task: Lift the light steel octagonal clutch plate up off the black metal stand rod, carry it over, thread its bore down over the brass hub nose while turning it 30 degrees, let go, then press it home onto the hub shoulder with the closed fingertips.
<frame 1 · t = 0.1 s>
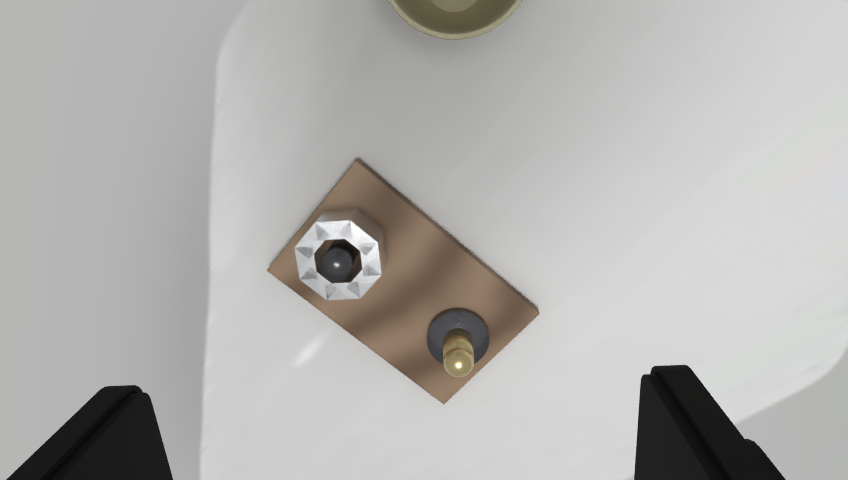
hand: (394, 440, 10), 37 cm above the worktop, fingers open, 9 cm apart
clutch plate: (346, 246, 47), point 1 cm above the worktop, touching base board
hub: (457, 328, 50), resting on base board
stand rod: (348, 242, 48), resting on base board
base board: (404, 286, 49), on the worktop
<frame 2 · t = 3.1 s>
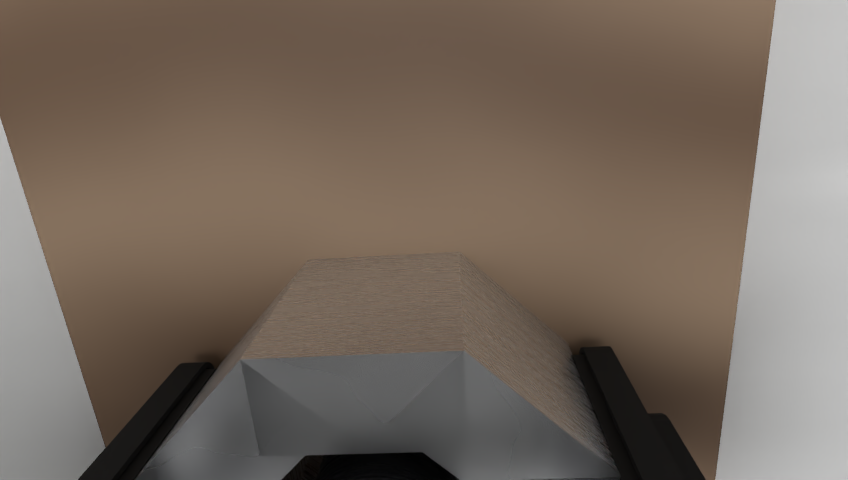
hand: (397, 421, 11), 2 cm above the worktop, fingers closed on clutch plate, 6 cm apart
clutch plate: (399, 410, 11), point 1 cm above the worktop, touching base board, gripper
stand rod: (403, 377, 12), resting on base board
base board: (374, 78, 10), on the worktop
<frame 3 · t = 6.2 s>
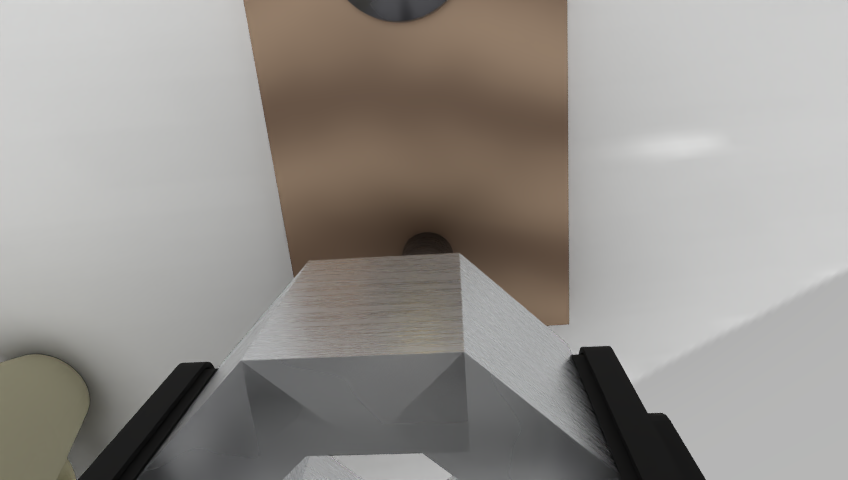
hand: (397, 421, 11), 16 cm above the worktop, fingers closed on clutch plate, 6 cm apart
clutch plate: (399, 410, 11), point 15 cm above the worktop, touching gripper
mug: (66, 400, 30), on the worktop
stand rod: (428, 247, 26), resting on base board
base board: (415, 112, 24), on the worktop
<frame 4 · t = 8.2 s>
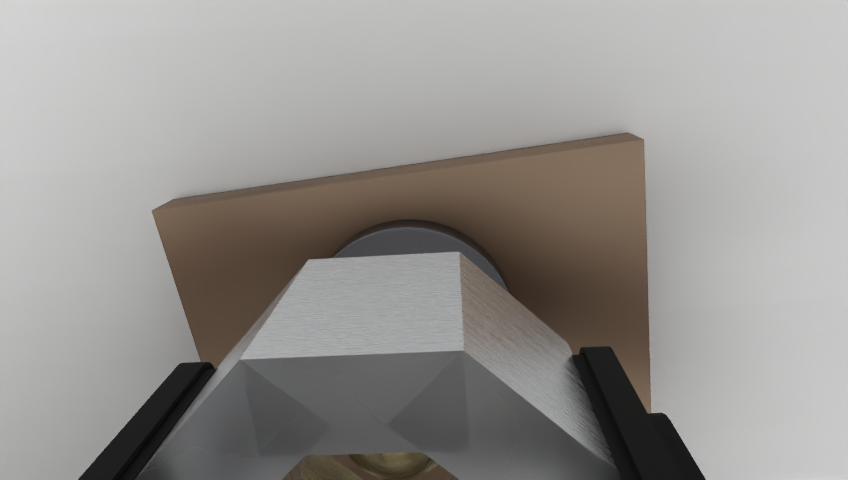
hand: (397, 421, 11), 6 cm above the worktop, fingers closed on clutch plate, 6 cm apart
clutch plate: (399, 410, 11), point 6 cm above the worktop, touching gripper
hub: (414, 296, 16), resting on base board
base board: (444, 468, 18), on the worktop
when the fingers open (3 cm above the worktop, at t = 9.7 s): clutch plate stays where it is, resting on hub.
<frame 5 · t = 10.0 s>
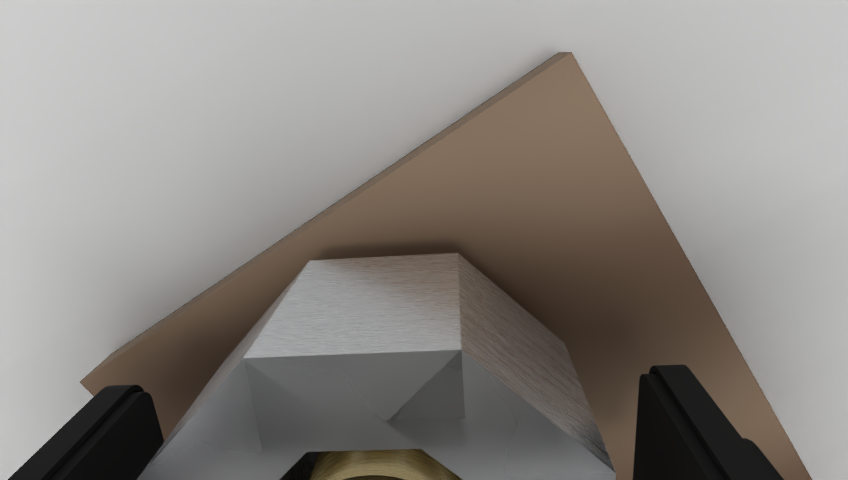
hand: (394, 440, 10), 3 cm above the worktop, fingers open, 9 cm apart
clutch plate: (398, 408, 11), point 2 cm above the worktop, touching hub
hub: (407, 350, 13), resting on base board
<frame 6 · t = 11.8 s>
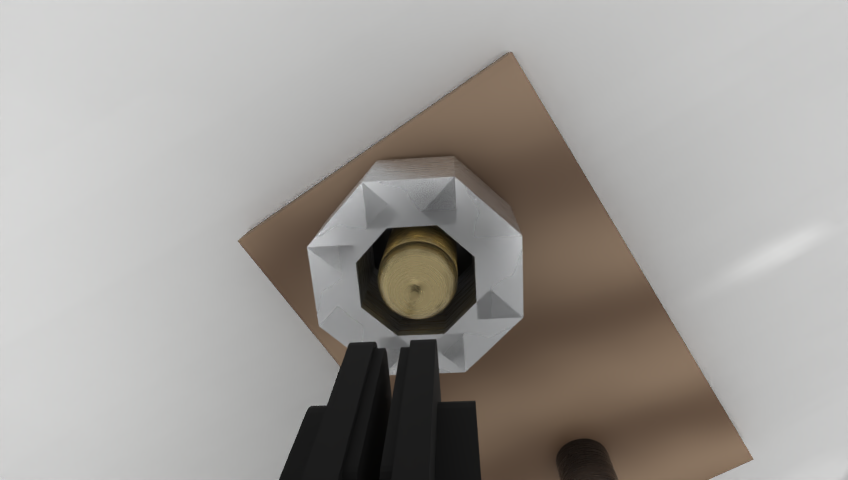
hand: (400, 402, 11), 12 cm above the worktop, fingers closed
clutch plate: (421, 246, 21), point 2 cm above the worktop, touching hub
hub: (425, 226, 23), resting on base board
stand rod: (576, 442, 26), resting on base board
base board: (505, 341, 24), on the worktop
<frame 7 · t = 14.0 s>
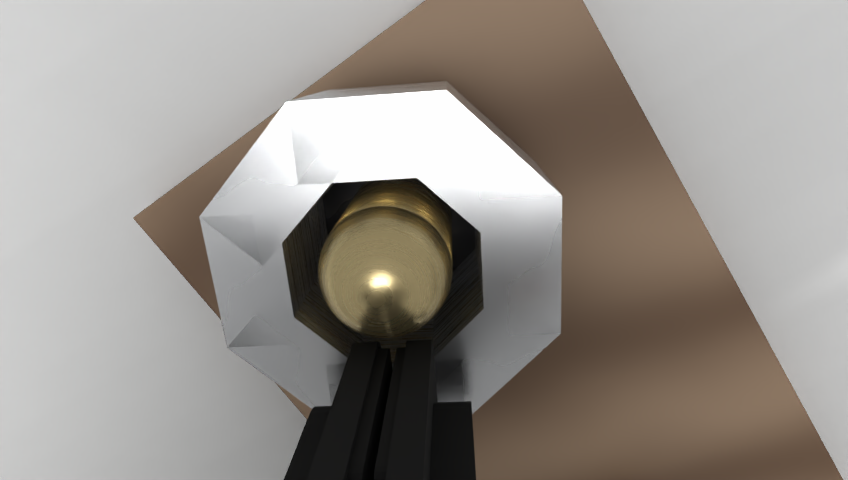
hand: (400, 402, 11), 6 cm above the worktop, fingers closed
clutch plate: (399, 223, 14), point 2 cm above the worktop, touching gripper, hub
hub: (407, 198, 16), resting on base board
base board: (521, 361, 17), on the worktop
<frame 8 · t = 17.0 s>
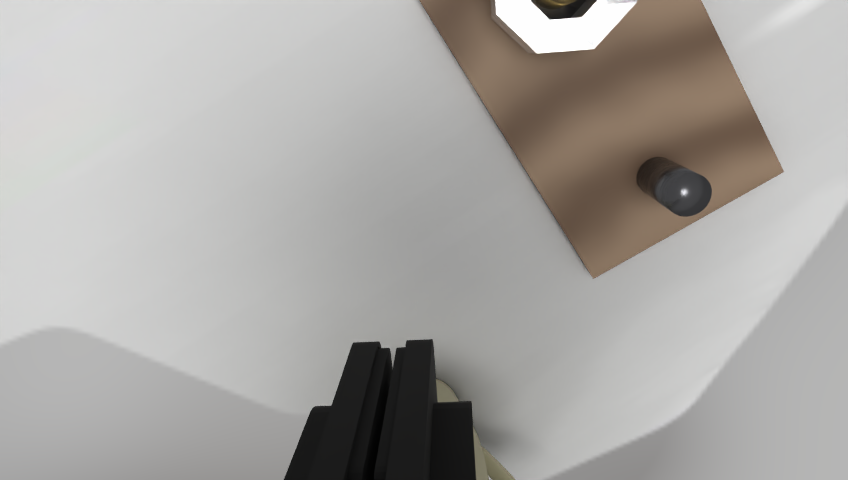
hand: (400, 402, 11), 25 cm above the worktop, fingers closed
mug: (439, 404, 41), on the worktop
stand rod: (649, 172, 35), resting on base board
base board: (600, 84, 33), on the worktop
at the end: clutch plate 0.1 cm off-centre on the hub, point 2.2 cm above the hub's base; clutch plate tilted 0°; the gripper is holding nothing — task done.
